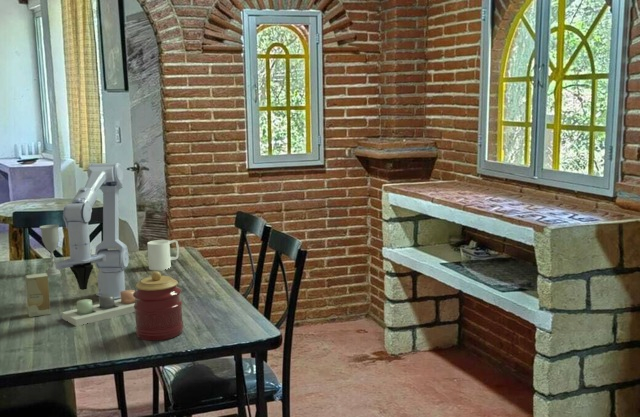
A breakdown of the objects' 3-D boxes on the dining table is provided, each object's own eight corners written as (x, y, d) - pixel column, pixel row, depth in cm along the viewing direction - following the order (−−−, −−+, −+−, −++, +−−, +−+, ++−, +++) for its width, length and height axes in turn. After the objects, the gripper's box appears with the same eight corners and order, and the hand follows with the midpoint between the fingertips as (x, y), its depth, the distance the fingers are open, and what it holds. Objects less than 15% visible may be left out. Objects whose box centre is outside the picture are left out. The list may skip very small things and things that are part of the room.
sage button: (74, 311, 211) (74, 301, 211) (89, 308, 214) (88, 298, 214) (81, 315, 208) (80, 304, 207) (95, 311, 211) (94, 301, 210)
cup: (183, 267, 271) (181, 241, 270) (151, 271, 266) (150, 245, 264) (177, 263, 279) (176, 238, 277) (146, 267, 273) (145, 241, 272)
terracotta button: (118, 301, 220) (117, 291, 220) (131, 298, 223) (130, 289, 223) (125, 304, 217) (124, 294, 217) (138, 301, 220) (137, 291, 220)
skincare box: (29, 317, 214) (25, 278, 212) (27, 313, 218) (24, 275, 216) (51, 314, 217) (48, 275, 215) (49, 310, 221) (46, 272, 219)
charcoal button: (97, 306, 216) (96, 296, 215) (110, 303, 219) (110, 293, 218) (103, 309, 213) (102, 299, 212) (117, 306, 215) (116, 296, 215)
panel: (62, 318, 212) (61, 312, 211) (135, 301, 228) (135, 295, 227) (76, 326, 204) (75, 319, 204) (151, 308, 220) (150, 301, 220)
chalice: (67, 272, 268) (63, 225, 265) (52, 276, 262) (47, 228, 259) (55, 270, 272) (50, 224, 269) (39, 274, 266) (35, 227, 263)
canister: (140, 344, 188) (135, 279, 185) (132, 330, 200) (128, 269, 197) (188, 336, 193) (185, 273, 190) (178, 323, 205) (174, 263, 202)
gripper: (60, 249, 200) (64, 296, 202) (108, 241, 210) (112, 286, 212) (50, 246, 205) (54, 291, 207) (98, 238, 215) (101, 282, 217)
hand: (83, 288), depth 210 cm, fingers closed
